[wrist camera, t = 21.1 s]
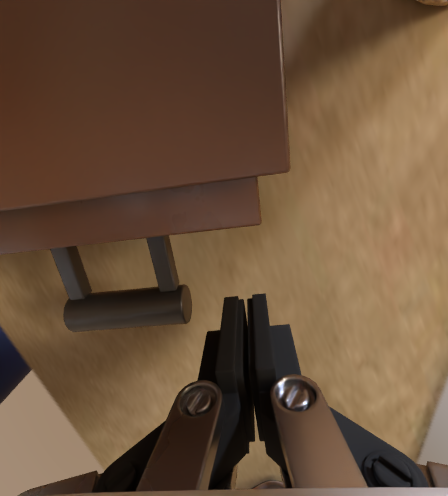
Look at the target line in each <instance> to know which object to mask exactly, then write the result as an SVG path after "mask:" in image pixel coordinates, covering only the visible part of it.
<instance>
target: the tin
mask: <svg viewBox="0 0 448 496" xmlns="http://www.w3.org/2000/svg"><path fill="white" fill-rule="evenodd" d="M253 489H284V485H283V483H282V482H280V481H267V482H264V483H262V484H260V485H258V486H256V487H255V488H253Z"/></svg>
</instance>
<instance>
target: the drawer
mask: <svg viewBox="0 0 448 496" xmlns="http://www.w3.org/2000/svg"><path fill="white" fill-rule="evenodd" d="M261 223H262V220H261V210H260V200H259V190H258V180H257V177H251V178H244V179H236V180H229V181H221V182H214V183H207V184H199V185H192V186H184V187H177V188H170V189H162V190H155V191H148V192H140V193H133V194H125V195H118V196H111V197H103V198H96V199H88V200H81V201H74V202H66V203H59V204H51V205H44V206H37V207H29V208H22V209H14V210H7V211H0V255H2V254H11V253H20V252H28V251H37V250H46V249H50V250H51V253H52V255H53V258H54V260H55V263H56V265H57V268H58V271H59V273H60V276H61V278H62V281H63V284H64V286H65V289H66V291H67V294H68V296H69V299H68V300H67V302H66V304H65V307H64V314H63V316H64V322H65V325H66V327H67V328H68V329H69V330H70V331H73V332H83V331H96V330H110V329H123V328H136V327H149V326H163V325H176V324H187V323H189V321H190V318H191V313H192V301H191V294H190V291H189V288H188V286H187V285H179V279H178V275H177V270H176V266H175V261H174V257H173V252H172V248H171V243H170V239H169V235H176V234H185V233H194V232H203V231H211V230H220V229H229V228H237V227H246V226H255V225H260V224H261ZM142 238H146V239H147V243H148V246H149V250H150V254H151V258H152V262H153V266H154V270H155V274H156V278H157V282H158V286H159V287H151V288H140V289H130V290H119V291H108V292H97V293H91V292H92V289H91V286H90V284H89V281H88V278H87V275H86V272H85V269H84V267H83V264H82V261H81V258H80V255H79V252H78V249H77V247H76V246H81V245H89V244H98V243H107V242H115V241H124V240H133V239H142Z"/></svg>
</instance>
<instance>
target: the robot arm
mask: <svg viewBox="0 0 448 496" xmlns="http://www.w3.org/2000/svg"><path fill="white" fill-rule="evenodd" d="M247 307H248V325H247V318H246V312H245V305H244V300H243V299H240V300H239V298H238V296H235V297H225V298H224V305H223V313H222V320H221V328H220V330H217V331H208V332H207V335H206V340H205V346H204V351H203V356H202V361H201V366H200V371H199V376H198V381H196V382H192V383H190V384H188V385H187V386H185V387H184V388H183V389H182V390H181V391H180V392H179V393H178V395H177V397H176V399H175V401H174V403H173V406H172V408H171V410H170V412H169V415H168V417H167V419H166V421H165V422H163V423H162V424H161V425H160V426H158V427H157V428H156V429H155V430H153V431H152V432H151V433H150V434H148V435H147V436H146V437H145V438H143V439H142V440H141V441H139V442H138V443H137V444H136V445H134V446H133V447H132V448H131V449H129V450H128V451H127V452H126V453H124V454H123V455H122V456H121V457H119V458H118V459H117V460H116V461H114V462H113V463H112V464H111V465H110V466H109V467H108V468H107V469H106V470H105V471H104V473H102V474H98V472H97V471H93V472H89V473H86V474H82V475H79V476H75V477H72V478H68V479H65V480H61V481H57V482H54V483H50V484H47V485H44V486H40V487H36V488H33V489H30V490H27V491H25V492H23V493H21V494H20V495H18V496H448V465H444V464H439V463H434V462H427V466H425V465H420V464H415V463H414V461H412V460H411V459H410V458H408V457H407V456H406V455H405V454H403V453H402V452H400V451H399V450H397V449H395V448H394V447H392V446H391V445H389V444H387V443H386V442H384V441H383V440H381V439H380V438H378V437H376V436H375V435H373V434H372V433H370V432H369V431H367V430H365V429H364V428H362V427H361V426H359V425H358V424H356V423H354V422H353V421H351V420H350V419H348V418H346V417H345V416H343V415H342V414H340V413H339V412H337V411H335V410H334V409H332V408H331V407H329V406H328V404H327V402H326V400H325V398H324V396H323V394H322V392H321V390H320V388H319V387H318V385H317V384H316V383H315V382H314V381H312V380H311V379H310V378H307V377H305V376H302V375H301V371H300V367H299V363H298V358H297V354H296V350H295V346H294V341H293V337H292V333H291V329H290V325H289V324H287V325H275V326H270V324H269V317H268V309H267V301H266V293H265V294H255V295H252V298H250V299H247ZM254 408H255V414H256V420H257V427H258V433H259V439H260V441H265V447H266V453H267V455H268V456H269V457H270V458H272V459H273V460H274V461H275V462H276V463H277V464H278V465H279V466H280V473H281V477H282V481H283V485H284V489H236V490H235V484H236V478H237V463H238V462H239V461H240V460H241V459H242V458H243V457H244V456H245V455H246V454H249V442H254V441H255V425H254Z"/></svg>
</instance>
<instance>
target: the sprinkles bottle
mask: <svg viewBox="0 0 448 496" xmlns="http://www.w3.org/2000/svg"><path fill="white" fill-rule="evenodd" d="M416 1H419V2H421V3H423V4H426V5H435V6H440V5H448V0H416Z"/></svg>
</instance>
